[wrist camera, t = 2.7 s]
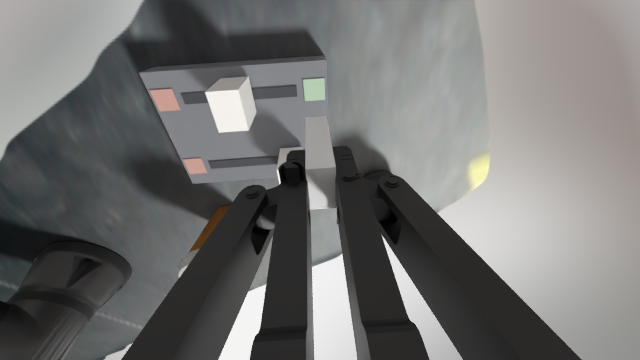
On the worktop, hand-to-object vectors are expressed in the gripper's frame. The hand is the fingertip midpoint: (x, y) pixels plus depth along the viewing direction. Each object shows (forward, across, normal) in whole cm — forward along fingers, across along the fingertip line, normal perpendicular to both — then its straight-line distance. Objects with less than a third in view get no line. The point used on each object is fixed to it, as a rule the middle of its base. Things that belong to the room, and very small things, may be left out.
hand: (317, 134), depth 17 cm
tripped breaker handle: (+11, +8, 0) cm, 14 cm away
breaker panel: (+15, +8, +5) cm, 18 cm away
